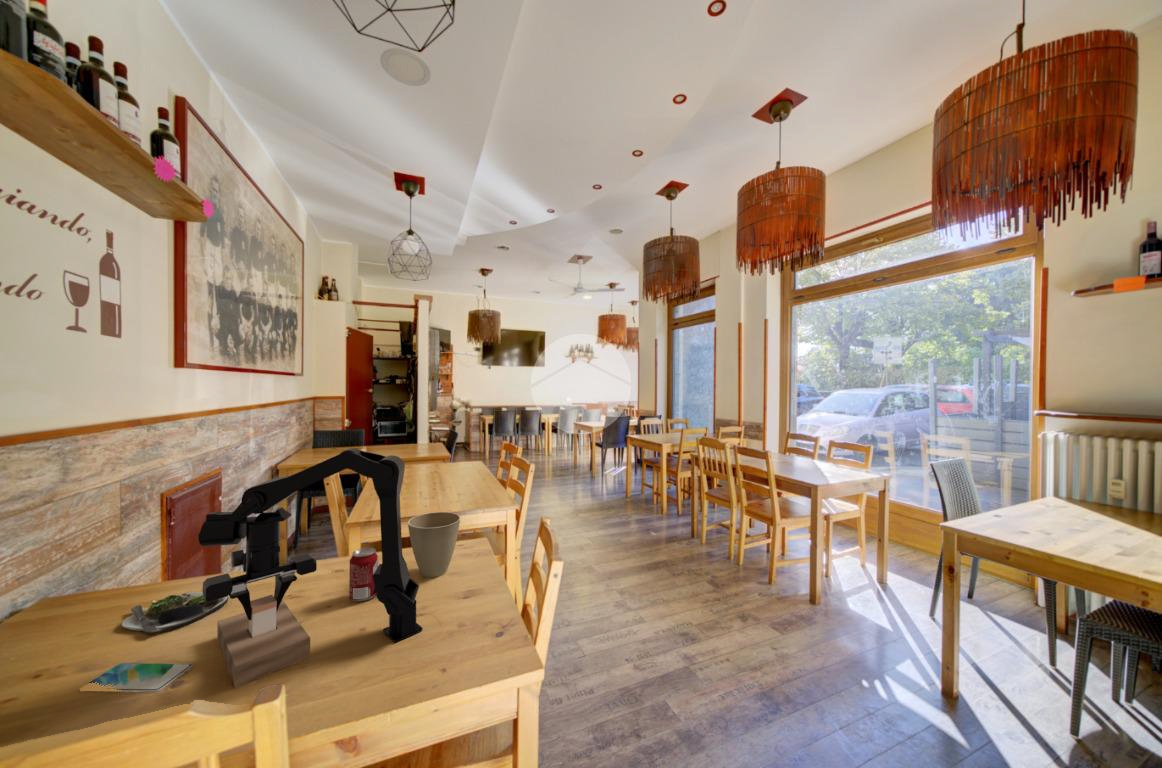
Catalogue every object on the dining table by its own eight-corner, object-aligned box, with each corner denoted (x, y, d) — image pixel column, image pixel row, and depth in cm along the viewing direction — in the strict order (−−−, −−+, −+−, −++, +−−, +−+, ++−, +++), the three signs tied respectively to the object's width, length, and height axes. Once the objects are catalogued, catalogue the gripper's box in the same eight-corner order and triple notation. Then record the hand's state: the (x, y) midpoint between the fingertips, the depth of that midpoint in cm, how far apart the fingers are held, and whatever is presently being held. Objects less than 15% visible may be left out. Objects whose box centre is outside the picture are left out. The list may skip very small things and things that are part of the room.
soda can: (369, 603, 107) (370, 556, 107) (343, 603, 107) (344, 556, 107) (382, 590, 114) (383, 546, 114) (358, 590, 114) (358, 546, 114)
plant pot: (395, 578, 121) (396, 523, 121) (432, 558, 135) (433, 509, 135) (435, 588, 115) (436, 530, 115) (470, 566, 129) (470, 515, 129)
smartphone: (157, 690, 76) (76, 689, 76) (157, 695, 76) (76, 694, 76) (194, 663, 83) (120, 662, 83) (195, 667, 83) (120, 666, 83)
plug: (276, 637, 89) (276, 600, 89) (252, 646, 86) (252, 608, 86) (271, 630, 91) (272, 594, 92) (248, 638, 88) (248, 601, 88)
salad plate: (90, 633, 94) (90, 613, 94) (177, 595, 112) (177, 577, 112) (161, 641, 91) (161, 620, 91) (239, 600, 109) (240, 583, 109)
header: (310, 657, 86) (310, 637, 86) (234, 688, 77) (235, 666, 77) (282, 617, 100) (283, 600, 100) (217, 639, 92) (217, 621, 92)
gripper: (303, 523, 101) (302, 587, 101) (199, 544, 87) (198, 619, 87) (317, 534, 94) (317, 603, 93) (206, 559, 80) (205, 640, 80)
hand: (262, 615), depth 89 cm, fingers closed on plug, 4 cm apart
